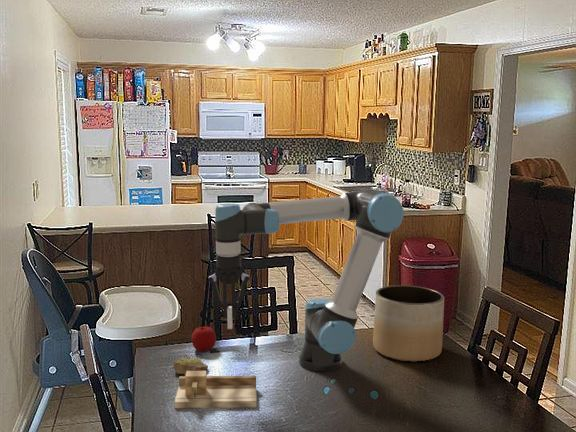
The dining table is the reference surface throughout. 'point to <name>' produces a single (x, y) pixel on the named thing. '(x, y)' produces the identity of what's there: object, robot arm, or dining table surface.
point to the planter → (408, 322)
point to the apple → (203, 339)
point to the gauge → (195, 383)
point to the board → (220, 393)
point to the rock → (189, 365)
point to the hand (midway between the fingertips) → (230, 327)
